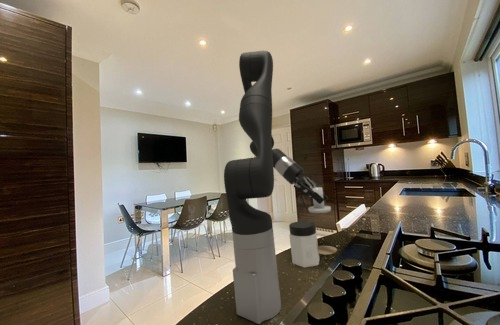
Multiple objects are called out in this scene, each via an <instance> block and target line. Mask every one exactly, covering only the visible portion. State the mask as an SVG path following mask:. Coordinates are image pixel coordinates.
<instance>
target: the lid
mask: <svg viewBox="0 0 500 325" xmlns="http://www.w3.org/2000/svg"><path fill="white" fill-rule="evenodd" d="M313 189H314V190H315V192H317V193H318V194H319V195H320V196H321V197H322V198H323V193H324V191H323V190H324V189H323V187H321V186H319V187H315V188H313ZM323 199H324V198H323ZM312 202H313V206H308V208H307V210H308V212H309V213H311V214H325V213H330V212H332V206H330V205H325V202H324V201H323V202H322V203H321V204H319V203H318V202H317V201H316V200H314V199H313V198H312Z"/></svg>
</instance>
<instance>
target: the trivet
mask: <svg viewBox="0 0 500 325" xmlns="http://www.w3.org/2000/svg"><path fill="white" fill-rule="evenodd" d="M318 250H319V255H332V254H336V253H337V252H338V249H337V247H334V246H331V245H318Z"/></svg>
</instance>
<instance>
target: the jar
mask: <svg viewBox="0 0 500 325" xmlns="http://www.w3.org/2000/svg"><path fill="white" fill-rule="evenodd" d="M288 228H289V236H288V237H289V244H290V252H291V260H292V264H293V265H296V266H298V267H301V268H309V267H316V266H319V265H320V254H319V250H318V246H319V244H318V236H317V227H316V223H315V222H313V221H307V220H306V221H295V222H290V223H289V226H288Z"/></svg>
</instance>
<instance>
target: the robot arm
mask: <svg viewBox="0 0 500 325" xmlns="http://www.w3.org/2000/svg"><path fill="white" fill-rule="evenodd" d="M273 61H274V59H273V56H272V53H271V52H270V51H269V50H257V51H247V52H243V53H241V54H240V55H239V61H238V62H239V63H238V64H239V65H238V66H239V74H240V80H241V84H242V88H243V91H244V94H243V96H242V97H241V100H240V102H239V103H240V104H239V113H238V121H239V124H240V126H241V129H242V130H243V132H244V133H245V134H246V135H247V136H248V138H249V139H251V142H250V144H249V149H250V152H251V153H252V154H253V155H254V157H250V158H249V157H248V158H240V159H233V160H228V162H227V163H226V164H225V166H224V170H223V183H224V190H225V196H226V203H227V211H228V218H229V221H230V226H231V234H232V243H233V254H234V264H235V265H234V266H235V267H234V268H232V278H233V287H234V288H233V290H234V298H235V300H234V301H235V309H236V315H238V316H239V317H243V319H244V318H245V319H247V320H249V321H251V322H253V323H255V324H258V325H261V323H263V322H264V321H268V320H271V319H272V318H274V317H276V316H277V315H278V314H279V313H280V312H281V309H282V300H281V292H280V290H281V289H280V283H279V275H278V274H279V273H278V266H277V255H276V246H275V237H274V228H273V227H274V226H273V219H272V215H271V214H270V213H268V212H267V211H262V210H260V209H257V208H255V207H253V206H252V205H251V204H249V203H248V199H249V200H250V199H261V198H262V199H264V198H268V197H271V196H272V194H273V191H274V188H275V174H274V172H275V171H276V172H277V173H279V175H280V176H281V177H282V178H283V179H285V181H287V182H288V183H289V184H290V185H293V188H294V189H296V190H297V191H299V192H300V193H301V194H303V195H305V197H309V198H312V200H313V199H314V200H316V201H317V202H318V203H319V204H321V203H322V202H323V201H324V203H325V202H326V201H327V200H328V199H329V196H327V195H326V194H325V193H324V192H323V198H324V199H323V198H322V197H321V196H320V195H319V194H318V193H317V192H315V190H314V189H313V188H315V187H320V185H319V184H318V183H317V182H316V181H315V180H314V179H313V178H312V177H311V178H309V177H308V176H305V169H304V168H303V167H302V166H300V165H299V163H297V162H296V161H295V160H293V159H292V158H291V157H290V156H288V155H287V154H286V153H284V151H282V150H281V149H280V148H274V147H275V140H274V138H273V135H272V131H273V130H272V129H273V97H272V94H273V93H272V90H273V89H272V85H273V75H274V62H273ZM252 83H254V84H252ZM274 169H275V171H274Z"/></svg>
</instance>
